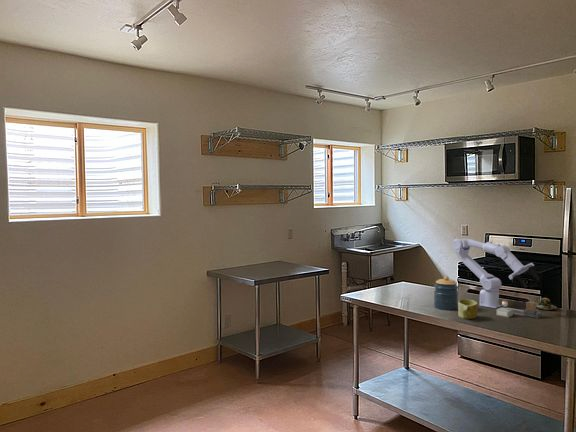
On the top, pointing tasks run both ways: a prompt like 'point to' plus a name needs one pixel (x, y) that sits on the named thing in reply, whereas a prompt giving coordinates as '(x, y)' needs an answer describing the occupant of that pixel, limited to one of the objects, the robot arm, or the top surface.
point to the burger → (545, 304)
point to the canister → (446, 294)
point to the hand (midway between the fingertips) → (532, 283)
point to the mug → (467, 309)
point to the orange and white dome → (504, 303)
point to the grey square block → (504, 312)
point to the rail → (521, 312)
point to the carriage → (530, 309)
